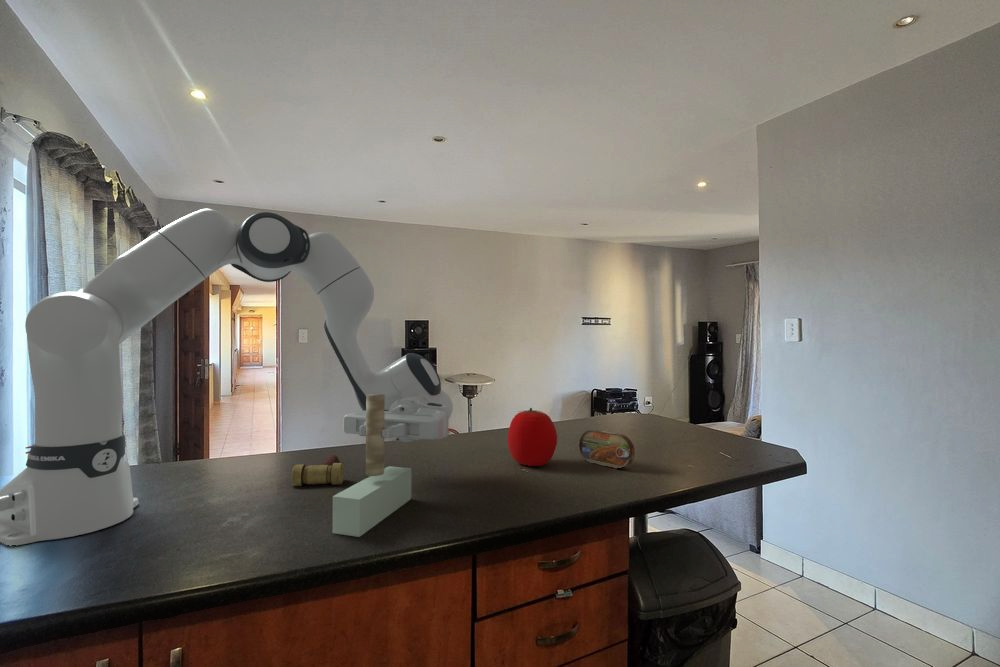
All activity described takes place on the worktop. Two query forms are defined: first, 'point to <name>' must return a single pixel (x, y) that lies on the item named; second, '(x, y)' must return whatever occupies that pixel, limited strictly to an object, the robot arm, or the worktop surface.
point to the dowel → (375, 434)
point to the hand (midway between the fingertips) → (373, 432)
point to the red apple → (532, 438)
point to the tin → (607, 447)
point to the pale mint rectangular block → (370, 501)
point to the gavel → (319, 473)
